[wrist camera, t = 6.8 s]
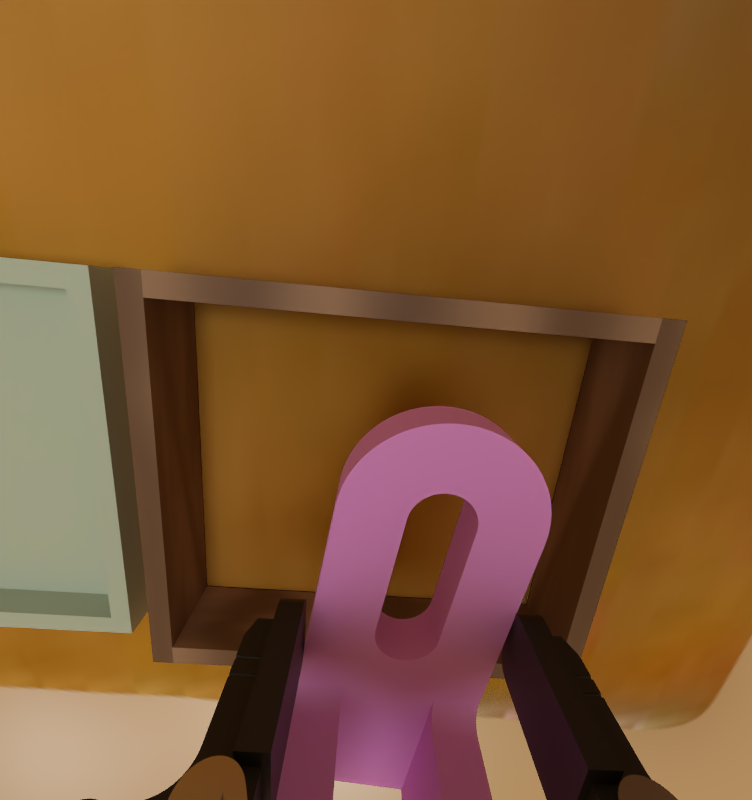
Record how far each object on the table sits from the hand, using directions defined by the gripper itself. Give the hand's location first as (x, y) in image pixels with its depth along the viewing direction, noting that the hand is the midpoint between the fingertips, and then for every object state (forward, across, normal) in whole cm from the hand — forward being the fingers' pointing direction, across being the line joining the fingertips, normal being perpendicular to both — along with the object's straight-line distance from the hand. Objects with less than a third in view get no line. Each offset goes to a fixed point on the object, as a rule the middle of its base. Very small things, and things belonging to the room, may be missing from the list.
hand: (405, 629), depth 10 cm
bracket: (+1, 0, 0) cm, 1 cm away
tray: (+10, +19, 0) cm, 22 cm away
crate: (+10, 0, 0) cm, 10 cm away
